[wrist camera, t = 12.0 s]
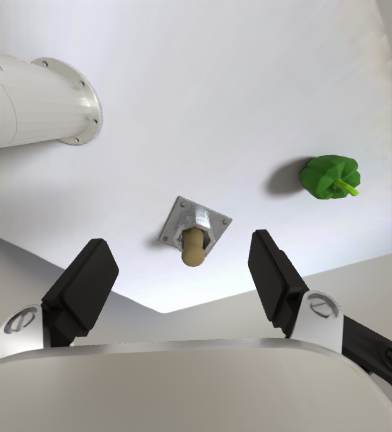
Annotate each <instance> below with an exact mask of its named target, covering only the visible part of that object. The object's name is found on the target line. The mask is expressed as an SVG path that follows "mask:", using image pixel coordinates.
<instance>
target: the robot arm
mask: <svg viewBox="0 0 392 432" xmlns="http://www.w3.org/2000/svg"><path fill="white" fill-rule="evenodd" d="M84 84H85V86H84ZM96 120H97V122H96ZM101 125H102V111H101V106H100V103H99V100H98V97H97V95H96V93H95V91H94V90H93V88H92V86H91V85H90V83H89V82H88V81H87V80H86V79H85V77H84V76H83V75H82V74H80V73H79V72H78V71H77V70H76V69H74V68H73V67H71V66H70V65H68V64H66V63H64V62H62V61H59V60H56V59H53V58H39V59H36V60H34V61H32V62H31V63H29V62H26V61H23V60H20V59H17V58H14V57H11V56H8V55H5V54H2V53H0V148H3V147H10V146H16V145H22V144H28V143H34V142H40V141H47V140H53V139H58V140H60V141H62V142H65V143H68V144H74V145H77V144H84V143H87V142H90V141H92V140H93V139H94V138H95V137H96V136H97V135H98V133H99V131H100V129H101ZM248 267H249V270H250V273H251V275H252V278H253V281H254V283H255V286H256V289H257V291H258V294H259V297H260V299H261V302H262V305H263V308H264V310H265V313H266V316H267V318H268V320H269V321H270V322H271V321H272V323H273V326H274V328H279V327H280V328H281V329H282V331H283V333H284V334H285V337H284V338H247V339H246V338H244V339H216V340H191V341H170V342H169V341H168V342H146V343H125V344H106V345H86V346H74V343H73V341H74V339H75V337H86V336H87V335H88V332H89V331H90V330H91V329H92V328H93V327H94V325H95V323H96V321H97V319H98V316H99V314H100V312H101V310H102V308H103V306H104V303H105V302H106V299H107V297H108V295H109V293H110V291H111V289H112V287H113V285H114V282H115V280H116V278H117V276H118V274H119V269H118V266H117V264H116V262H115V260H114V257H113V255H112V253H111V251H110V249H109V246H108V244H107V242H106V241H105V240H103V239H102V238H99V239H91V240H90V241H89V242H88V244H87V245H86V246H85V247H84V248H83V250H82V251H81V252H80V253H79V254H78V256H77V257H76V258H75V259H74V261H73V262H72V263H71V264H70V265H69V267H68V268H67V269H66V270H65V272H64V273H63V274H62V275H61V276H60V278H59V279H58V280H57V281H56V282H55V284H54V285H53V286H52V287H51V288H50V290H49V291H48V292H47V293H46V295H45V296H44V297H43V298H42V301H43V303H42V304H41V305H38V304H32V305H28V306H26V307H23V308H21V309H20V310H18V311H16V312H15V313H14V314H13V315H11V316H10V317H9V318H8V319H7V320H6V321H5V322H4V323H3V325H2V326H1V328H0V432H392V341H390V340H389V339H387V338H385V337H383V336H381V335H380V334H378V333H376V332H374V331H372V330H370V329H369V328H367V327H365V326H363V325H361V324H359V323H358V322H356V321H354V320H352V319H350V318H349V317H347V316H345V315H343V311H342V309H341V307H340V305H339V304H338V303H337V302H336V301H335V300H334V299H333V298H331V297H330V296H328V295H327V294H325V293H322V292H320V291H314V290H312V291H310V290H309V288H308V287H307V285H306V284H305V282H304V281H303V280H302V278H301V276H300V275H299V273H298V272H297V271H296V269H295V268H294V266H293V265H292V263H291V262H290V260H289V259H288V257H287V256H286V254H285V253H284V251H282V250H279V248H278V247H277V245H276V244H275V242H274V241H273V239H272V237H271V236H270V234H269V233H268V231H267V230H266V229H262V230H256V231H255V232H253V234H252V240H251V246H250V253H249V259H248Z"/></svg>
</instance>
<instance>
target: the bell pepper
mask: <svg viewBox="0 0 392 432" xmlns="http://www.w3.org/2000/svg"><path fill="white" fill-rule="evenodd" d="M357 168H358V164H357V162H356V161H355V159H351V158H347V157H342V156H337V155H325V156H320V157H317V158H315V159H312V160H311V161H310V162H308V163H307V167H306V168H304V169H303V170H302V172H301V173H300V181H301V183H302V185H303V186H304V187H305V189H306V190H307V191H308V192H309V193H310V194H311V195H313V196H314V197H316V198H317V199H330V198H333V199H337V198H344V197H346V196H347V195H348V194H349V193H350V194H351V195H352V196H356V195H358V191H357V190H355V189H354V188H355V187H356V186H358V185H359V184H360V174H359V173H358V172H357V171H356V170H357Z"/></svg>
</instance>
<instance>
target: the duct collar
mask: <svg viewBox="0 0 392 432" xmlns="http://www.w3.org/2000/svg"><path fill="white" fill-rule="evenodd" d="M231 221H232V218H229V217H227V216H225V215H222V214H220V213H218V212H216V211H213V210H211V209H209V208H206V207H204V206H202V205H199V204H197V203H195V202H192V201H190V200H188V199H185V198H183V197H181V196H179V198H178V200H177V203H176V205H175V207H174V209H173V211H172V213H171V215H170V217H169V219H168V222H167V224H166V226H165V228H164V230H163V232H162V234H161V236H160V238H159V241H160V242H163V243H166V244H169V245H172V246H175V247H177V248H178V250H180V251H181V252H182V251H183V249H184V242H183V233H182V230H185V229H189V228H192V227H197V228H200V229H202V230H204V238H203V246H202V248H203V250H204V252H205V257H206V256H207V255H208V253H209V252H210V251H211V249H212V248H213V247H214V245H215V244H216V242H217V241H218V240H219V238H220V237H221V235H222V234H223V233H224V231H225V230H226V228H227V227H228V226H229V224H230V223H231Z"/></svg>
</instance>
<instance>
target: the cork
mask: <svg viewBox="0 0 392 432" xmlns="http://www.w3.org/2000/svg"><path fill="white" fill-rule="evenodd" d="M182 233H183V242H184V249H183V251H182V260H183V262H184V263H185V264H186V265H188V266H191V267H195V266H199V265H200V264H202V262H203V261H204V259H205V252H204V250H203V248H202V246H203V238H204V230H202V229H200V228H197V227H192V228H189V229H185V230H182Z"/></svg>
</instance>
